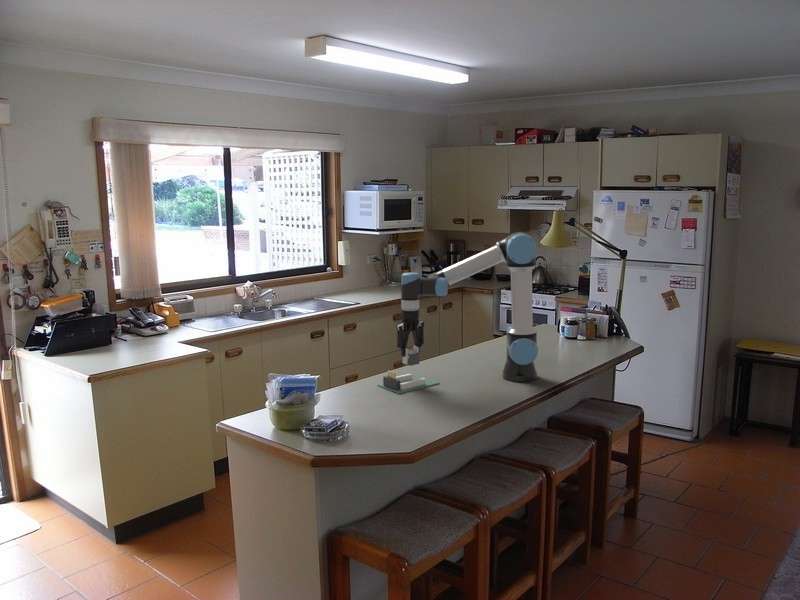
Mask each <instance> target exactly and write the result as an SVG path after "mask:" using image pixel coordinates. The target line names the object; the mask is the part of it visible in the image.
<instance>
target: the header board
mask: <svg viewBox="0 0 800 600" xmlns="http://www.w3.org/2000/svg"><path fill="white" fill-rule="evenodd" d="M382 378H383V379H382V383H378V384H377V387H379V386H380V388H382V387H383V388H382V389H384V388H385V390H387V389H388V390H387V391H389V390H390V392H392V391H393V392H392V393H395V392H396V393H395V394H397V393H401V394H404V392H405V393H409V392H412V390H413V391H417V390H420V389H425V388H429V387H433V386H437V385H440V382H439V381H436V380H432V379H430V378H427V377H424V376H422V375H418V374H417V375H413V374H412V373H406V374H402V375H398V376H396V372H395V371H392V370H390V369H389V370H387V375H385V376H383V377H382ZM408 391H409V392H408Z"/></svg>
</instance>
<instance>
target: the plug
mask: <svg viewBox="0 0 800 600" xmlns="http://www.w3.org/2000/svg"><path fill="white" fill-rule="evenodd" d="M401 363H402V364H403V356H401ZM419 364H420V353H419V352H416V351H413V349H408V364H407V366H409V367H410V366H415V365H419Z"/></svg>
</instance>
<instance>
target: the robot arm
mask: <svg viewBox="0 0 800 600" xmlns="http://www.w3.org/2000/svg"><path fill="white" fill-rule="evenodd" d="M537 246H538V245H537V243H536V241H535V239H534V238H533V237H532V236H531V235H529V234H528V233H526V232H524V231H516V232H514V233H511V234H510V235H508V236H506V237H505V238H503V239H501V240H499V241H496V243H495V245H493V246H491V247H490V248H487V249H485V250H483V251H480V252H479V253H476V254H474V255H472V256H469V257H467V258H465V259H463V260H460V261H458V262H456V263H453V264H451V265H449V266H447V267H445V268H443V269H441V270H439V271H436V272H433V273H430V274H429V275H428V276H427V277H420V275H419V272H403V273H402V274H401V277H400V278H401V279H400V281H401V283H400V294H401V295H400V296H401V297H400V298H401V301H400V302H401V303H400V304H401V305H400V306H401V320H402V321H401V324H397V325H396V332H397V334H396V335H397V336H396V341H397V342H396V346H397V348H398V349H400V351H401V354H400V355H401V357H402V356H403V363H402V364H404V365H407V364H408V350H409V349H408V348H407V346H408V341H409V336H410V334H412V338H413V343H414V345H413V349H412V350H413V351H416V352H419V354H420V352H421V349H420V348H421V347H422V345H424V343H425V342H424V337H425V335H424V326H425V322H424V321H421V320H419V319H420V297H421V296H429V297H430V296H431V297H433V296H437V297H440V296H442V297H444V296H447V295H448V286H451V285H453V284H455V283H458V282H460V281H462V280H465V279H466V278H468V277H471V276H473V275H475V274H477V273H478V274H479V273H480V272H482V271H485V270H487V269H490V268H491V267H494V266H496V265H499V264H501V263H503V262H504V263H506V267H507V268H508V269H509V270H510V271H509V272H510V292H511V293H510V294H511V295H510V297H511V299H510V300H511V301H510V302H511V305H510V306H511V326H510V325H509V326H508V327H507V329H506V333H505V334H506V360H505V363H504V367H503V369H502V374H501V375H502V376H501V377H502V378H503V379H504V380H506V381H509V380H510V382H515V381H516V382H517V383H519V382H520V383H525V382H533V381H536V380H537V379H538V372H537V370H536V366H535V363H534V362H535V360H536V358H537V357H538V354H539V347H538V343H537V342H538V335H537V333H538V332H537V330H536V329H535V328H534V327H533V326H534V321H533V319H534V318H533V270H534V269H535V268H536V264H537V263H536V254H537V250H538V249H537ZM407 366H408V365H407ZM535 379H536V380H535Z"/></svg>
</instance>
